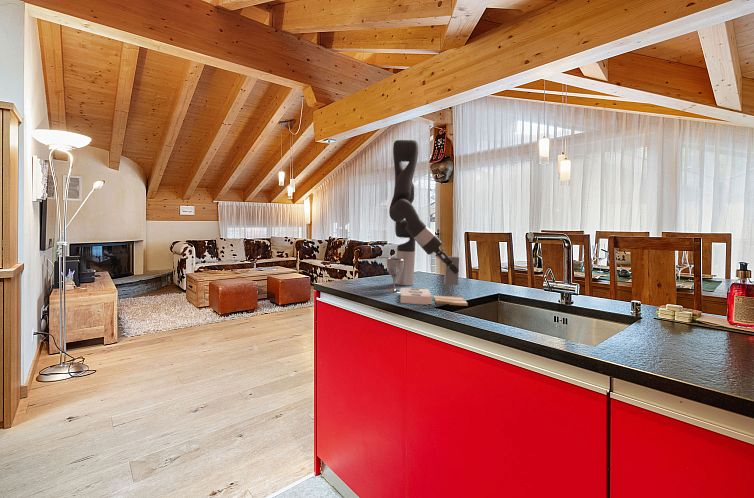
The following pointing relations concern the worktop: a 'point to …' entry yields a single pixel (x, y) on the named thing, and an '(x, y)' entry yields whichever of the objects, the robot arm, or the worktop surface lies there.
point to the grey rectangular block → (451, 272)
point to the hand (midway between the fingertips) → (456, 271)
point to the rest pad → (450, 300)
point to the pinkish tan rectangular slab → (416, 296)
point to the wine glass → (394, 270)
